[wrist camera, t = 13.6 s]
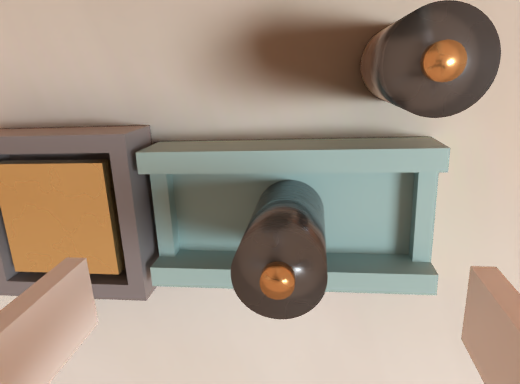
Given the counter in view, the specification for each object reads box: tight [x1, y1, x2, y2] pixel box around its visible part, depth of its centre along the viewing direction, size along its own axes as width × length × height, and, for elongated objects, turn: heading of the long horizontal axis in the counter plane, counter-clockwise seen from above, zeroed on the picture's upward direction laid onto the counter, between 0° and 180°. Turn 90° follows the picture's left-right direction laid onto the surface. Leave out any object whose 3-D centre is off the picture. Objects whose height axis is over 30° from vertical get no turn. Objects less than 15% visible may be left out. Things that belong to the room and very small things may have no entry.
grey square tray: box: [0, 125, 159, 301], centre depth 25 cm, size 10×10×4 cm
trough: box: [136, 137, 450, 295], centre depth 24 cm, size 8×16×4 cm, turn 92°
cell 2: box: [360, 0, 501, 118], centre depth 18 cm, size 4×4×9 cm
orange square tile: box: [0, 159, 126, 274], centre depth 24 cm, size 7×7×1 cm
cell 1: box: [231, 180, 328, 319], centre depth 20 cm, size 4×4×9 cm
